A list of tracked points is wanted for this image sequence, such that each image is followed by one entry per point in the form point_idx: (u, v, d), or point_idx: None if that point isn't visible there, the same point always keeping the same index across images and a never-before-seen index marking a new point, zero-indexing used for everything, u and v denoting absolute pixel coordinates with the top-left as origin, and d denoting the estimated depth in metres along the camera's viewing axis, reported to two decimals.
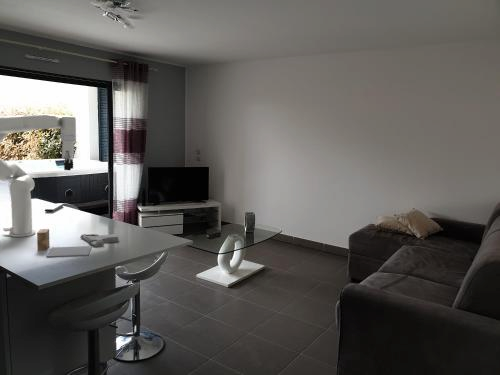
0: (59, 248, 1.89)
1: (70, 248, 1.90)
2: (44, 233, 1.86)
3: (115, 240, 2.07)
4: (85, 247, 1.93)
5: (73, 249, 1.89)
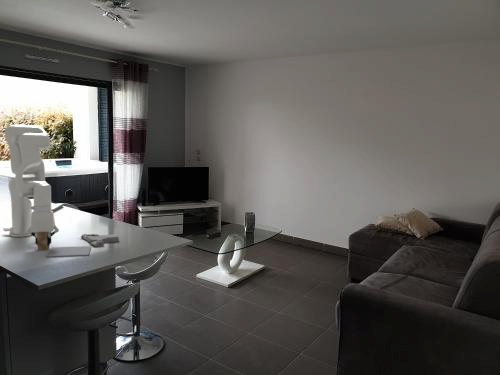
0: (59, 248, 1.89)
1: (70, 248, 1.90)
2: (44, 233, 1.86)
3: (115, 240, 2.08)
4: (85, 247, 1.93)
5: (73, 249, 1.89)
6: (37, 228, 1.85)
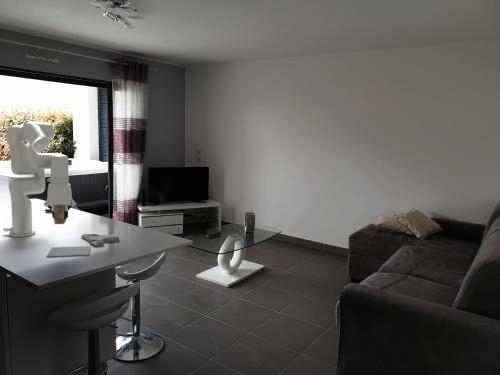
0: (59, 248, 1.89)
1: (70, 248, 1.90)
2: (61, 206, 1.79)
3: (116, 240, 2.08)
4: (85, 247, 1.93)
5: (73, 249, 1.89)
6: (54, 201, 1.79)
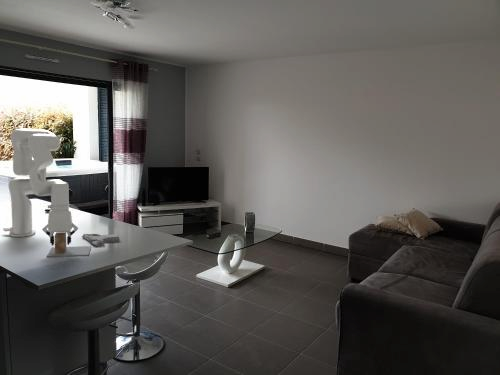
0: None
1: (70, 248, 1.90)
2: (62, 235, 1.81)
3: (116, 240, 2.08)
4: (85, 247, 1.93)
5: (73, 249, 1.89)
6: (54, 227, 1.80)
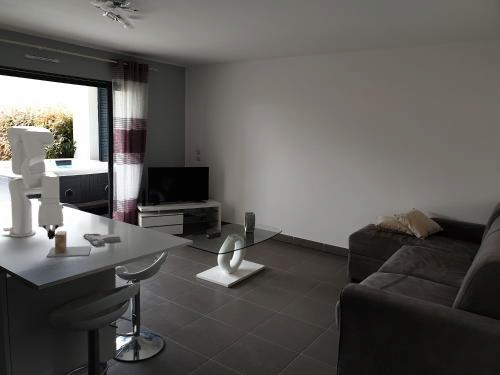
0: None
1: (70, 248, 1.90)
2: (62, 235, 1.81)
3: (117, 240, 2.08)
4: (85, 247, 1.93)
5: (73, 249, 1.89)
6: (45, 221, 1.79)
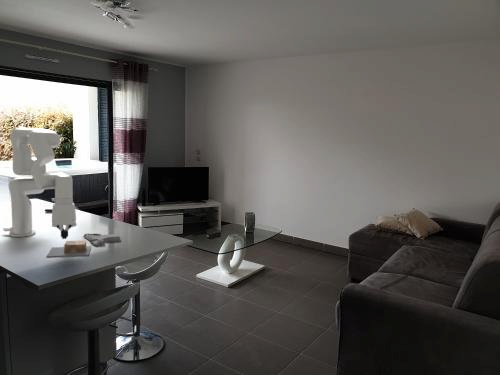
0: (59, 248, 1.89)
1: None
2: (83, 250, 1.85)
3: (117, 240, 2.08)
4: None
5: None
6: (58, 220, 1.80)
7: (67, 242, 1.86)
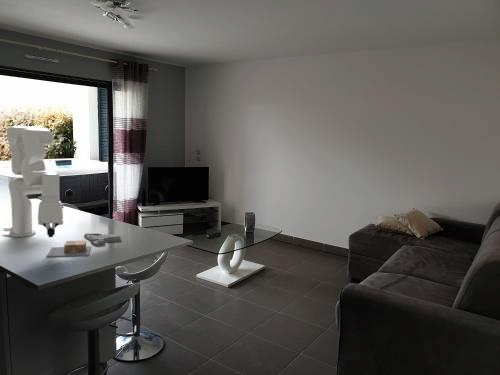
0: (59, 248, 1.89)
1: None
2: (83, 250, 1.85)
3: (117, 240, 2.09)
4: None
5: None
6: (45, 219, 1.79)
7: (67, 242, 1.86)
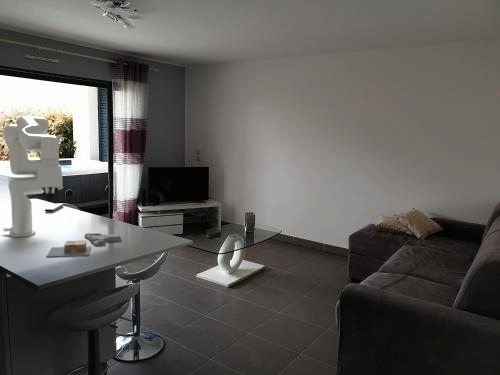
0: (59, 248, 1.89)
1: None
2: (83, 250, 1.85)
3: (117, 240, 2.09)
4: None
5: None
6: (44, 182, 1.76)
7: (67, 242, 1.86)
